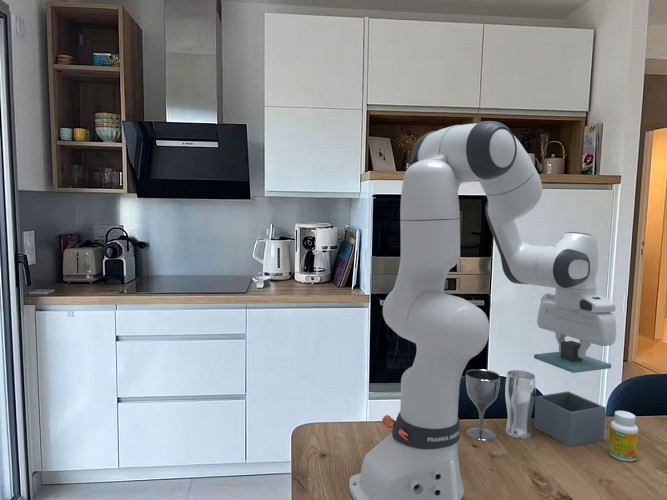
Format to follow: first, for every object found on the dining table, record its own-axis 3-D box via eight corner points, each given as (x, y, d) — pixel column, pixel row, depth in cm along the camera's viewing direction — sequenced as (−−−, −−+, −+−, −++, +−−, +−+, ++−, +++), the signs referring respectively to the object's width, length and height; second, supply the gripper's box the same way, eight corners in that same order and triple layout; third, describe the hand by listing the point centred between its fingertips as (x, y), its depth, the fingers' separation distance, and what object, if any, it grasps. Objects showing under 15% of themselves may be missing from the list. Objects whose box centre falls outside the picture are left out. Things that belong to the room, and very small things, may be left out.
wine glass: (460, 426, 121) (462, 368, 119) (492, 427, 120) (494, 369, 119) (468, 441, 113) (470, 379, 112) (502, 442, 112) (504, 380, 111)
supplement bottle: (609, 458, 105) (612, 416, 105) (607, 448, 110) (610, 407, 109) (638, 464, 103) (640, 421, 102) (634, 453, 108) (637, 412, 107)
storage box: (569, 446, 110) (571, 413, 110) (534, 427, 121) (535, 396, 120) (603, 439, 114) (605, 407, 114) (566, 420, 125) (568, 391, 124)
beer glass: (536, 441, 113) (539, 380, 112) (505, 438, 114) (508, 377, 113) (530, 428, 120) (533, 370, 119) (501, 426, 121) (503, 368, 120)
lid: (573, 373, 108) (574, 351, 108) (533, 358, 120) (534, 338, 119) (610, 368, 113) (612, 347, 112) (569, 354, 124) (570, 335, 124)
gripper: (532, 292, 124) (530, 344, 124) (602, 307, 105) (598, 368, 105) (551, 291, 126) (548, 342, 127) (622, 305, 107) (618, 365, 108)
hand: (571, 354), depth 116 cm, fingers closed on lid, 3 cm apart
